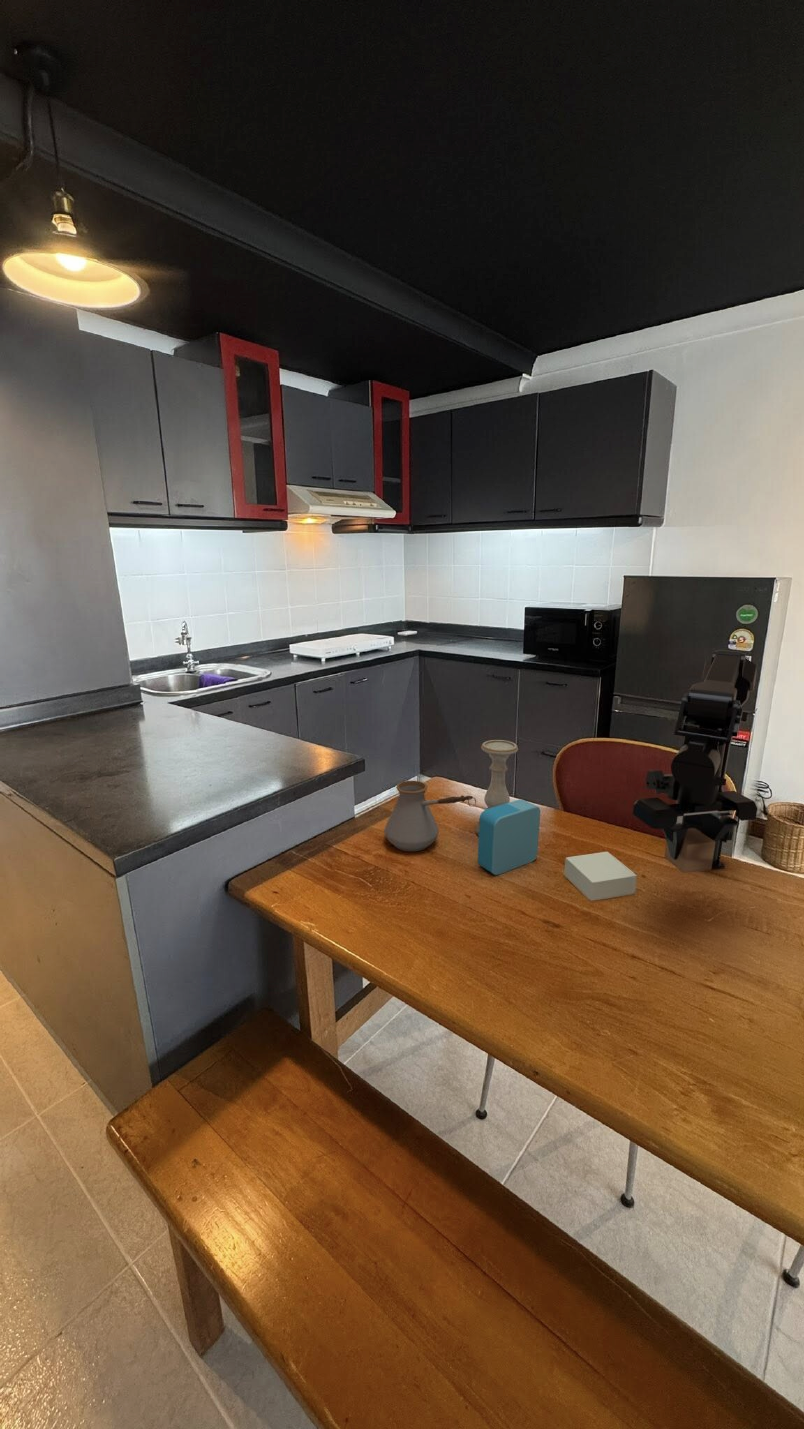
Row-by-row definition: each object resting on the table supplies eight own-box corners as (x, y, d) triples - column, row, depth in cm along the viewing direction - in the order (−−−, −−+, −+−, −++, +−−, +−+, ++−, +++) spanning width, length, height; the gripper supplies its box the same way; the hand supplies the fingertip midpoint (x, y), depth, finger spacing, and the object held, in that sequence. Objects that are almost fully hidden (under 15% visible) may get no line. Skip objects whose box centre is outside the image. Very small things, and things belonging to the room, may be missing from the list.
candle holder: (471, 825, 132) (474, 739, 127) (509, 823, 133) (513, 738, 127) (480, 843, 124) (484, 752, 118) (520, 841, 124) (526, 751, 119)
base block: (605, 870, 114) (607, 851, 113) (634, 895, 106) (637, 875, 104) (563, 876, 112) (565, 857, 111) (590, 902, 103) (592, 882, 102)
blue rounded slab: (521, 851, 120) (524, 797, 117) (537, 860, 117) (541, 804, 114) (476, 867, 114) (479, 810, 111) (492, 877, 110) (495, 819, 107)
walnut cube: (690, 854, 99) (694, 827, 98) (711, 869, 95) (715, 841, 93) (664, 857, 98) (667, 830, 97) (683, 873, 94) (687, 844, 92)
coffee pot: (373, 843, 123) (372, 777, 120) (409, 825, 132) (409, 762, 128) (453, 880, 110) (455, 806, 106) (488, 857, 118) (491, 788, 114)
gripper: (716, 747, 102) (704, 829, 106) (619, 754, 98) (610, 839, 102) (767, 770, 91) (751, 860, 95) (659, 779, 87) (648, 872, 92)
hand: (688, 856), depth 96 cm, fingers closed on walnut cube, 5 cm apart
